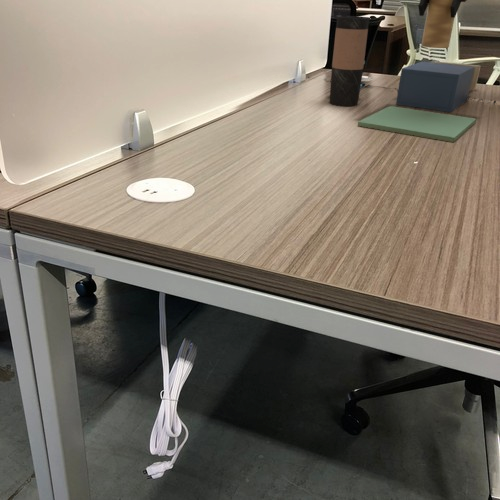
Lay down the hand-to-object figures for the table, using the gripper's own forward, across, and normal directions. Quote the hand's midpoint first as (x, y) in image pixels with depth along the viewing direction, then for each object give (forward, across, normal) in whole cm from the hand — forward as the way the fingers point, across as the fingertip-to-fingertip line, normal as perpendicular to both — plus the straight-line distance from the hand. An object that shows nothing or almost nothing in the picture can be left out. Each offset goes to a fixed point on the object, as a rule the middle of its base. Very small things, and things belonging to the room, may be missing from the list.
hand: (436, 11), depth 102 cm
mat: (+17, -1, -15) cm, 22 cm away
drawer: (-13, +4, -43) cm, 45 cm away
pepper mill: (+2, 0, -7) cm, 8 cm away
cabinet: (-1, +4, -33) cm, 33 cm away
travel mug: (+10, +21, -22) cm, 32 cm away
